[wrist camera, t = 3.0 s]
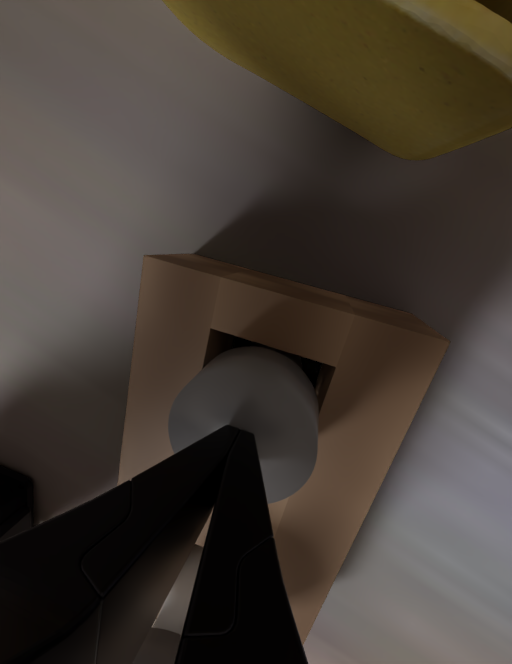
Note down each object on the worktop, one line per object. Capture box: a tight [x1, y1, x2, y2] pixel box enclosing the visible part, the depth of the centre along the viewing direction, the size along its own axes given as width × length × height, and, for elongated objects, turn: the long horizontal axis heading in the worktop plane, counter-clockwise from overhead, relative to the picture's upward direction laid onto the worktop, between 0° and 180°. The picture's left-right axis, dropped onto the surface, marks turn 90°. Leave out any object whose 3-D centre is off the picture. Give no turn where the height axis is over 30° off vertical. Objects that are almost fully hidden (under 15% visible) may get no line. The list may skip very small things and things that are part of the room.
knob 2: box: [168, 342, 319, 504], centre depth 11 cm, size 4×4×6 cm
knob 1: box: [132, 545, 203, 664], centre depth 12 cm, size 4×4×6 cm
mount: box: [117, 254, 450, 645], centre depth 14 cm, size 10×18×4 cm, turn 166°
